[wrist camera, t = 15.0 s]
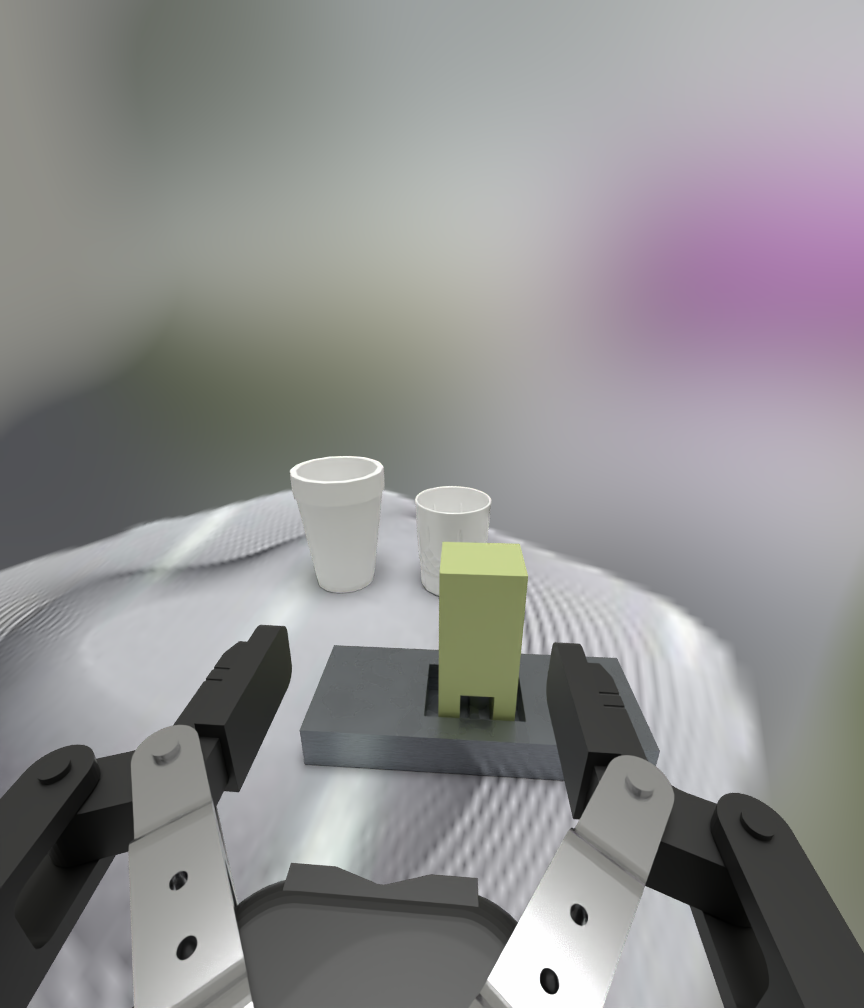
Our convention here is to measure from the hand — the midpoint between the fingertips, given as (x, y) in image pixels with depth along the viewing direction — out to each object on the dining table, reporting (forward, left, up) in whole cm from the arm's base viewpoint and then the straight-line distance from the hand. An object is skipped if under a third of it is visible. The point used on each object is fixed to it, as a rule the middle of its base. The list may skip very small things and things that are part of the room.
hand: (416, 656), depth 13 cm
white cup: (+1, +32, -18) cm, 37 cm away
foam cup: (-11, +32, -18) cm, 38 cm away
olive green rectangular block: (+3, +13, -17) cm, 22 cm away
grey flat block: (+3, +13, -17) cm, 22 cm away
